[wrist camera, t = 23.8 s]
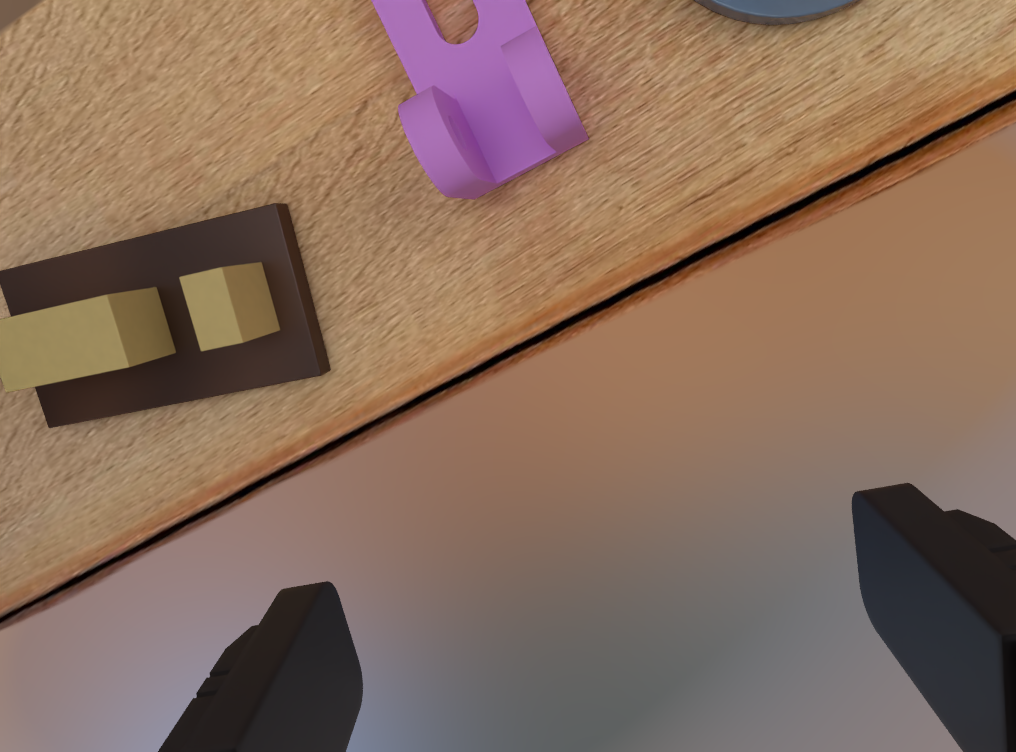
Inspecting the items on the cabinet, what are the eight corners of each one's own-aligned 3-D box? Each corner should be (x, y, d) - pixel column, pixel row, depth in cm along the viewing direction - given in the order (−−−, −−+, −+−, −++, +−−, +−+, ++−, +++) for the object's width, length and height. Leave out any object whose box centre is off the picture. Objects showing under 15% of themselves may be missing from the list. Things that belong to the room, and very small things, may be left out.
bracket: (589, 139, 32) (579, 119, 25) (474, 199, 33) (435, 195, 26) (451, -160, 30) (400, -268, 23) (336, -85, 31) (257, -166, 25)
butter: (62, 376, 37) (5, 393, 33) (41, 313, 36) (-19, 323, 33) (176, 352, 35) (129, 367, 32) (156, 286, 35) (106, 294, 31)
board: (65, 422, 39) (48, 428, 37) (15, 270, 37) (-5, 271, 36) (331, 370, 36) (321, 375, 35) (287, 203, 34) (275, 202, 33)
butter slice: (242, 338, 35) (200, 351, 31) (222, 270, 34) (178, 277, 31) (280, 330, 34) (242, 342, 31) (262, 261, 34) (221, 267, 30)
